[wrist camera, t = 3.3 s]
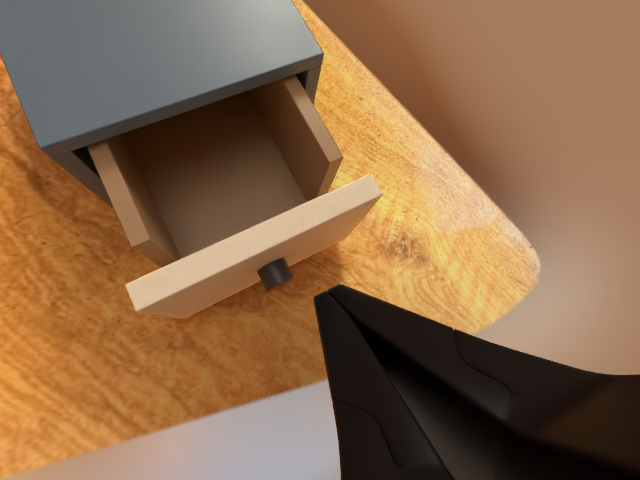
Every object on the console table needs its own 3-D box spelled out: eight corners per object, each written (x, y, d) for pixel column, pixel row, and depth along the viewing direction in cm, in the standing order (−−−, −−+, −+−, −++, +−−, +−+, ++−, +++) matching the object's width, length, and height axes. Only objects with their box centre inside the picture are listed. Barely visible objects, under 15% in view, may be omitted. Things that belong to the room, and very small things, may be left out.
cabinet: (303, 153, 25) (324, 53, 16) (131, 224, 22) (38, 148, 13) (219, 3, 28) (197, -158, 19) (53, 48, 25) (-73, -121, 15)
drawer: (354, 254, 23) (397, 216, 16) (191, 338, 20) (148, 341, 13) (258, 80, 25) (254, -25, 18) (99, 133, 23) (17, 35, 15)
